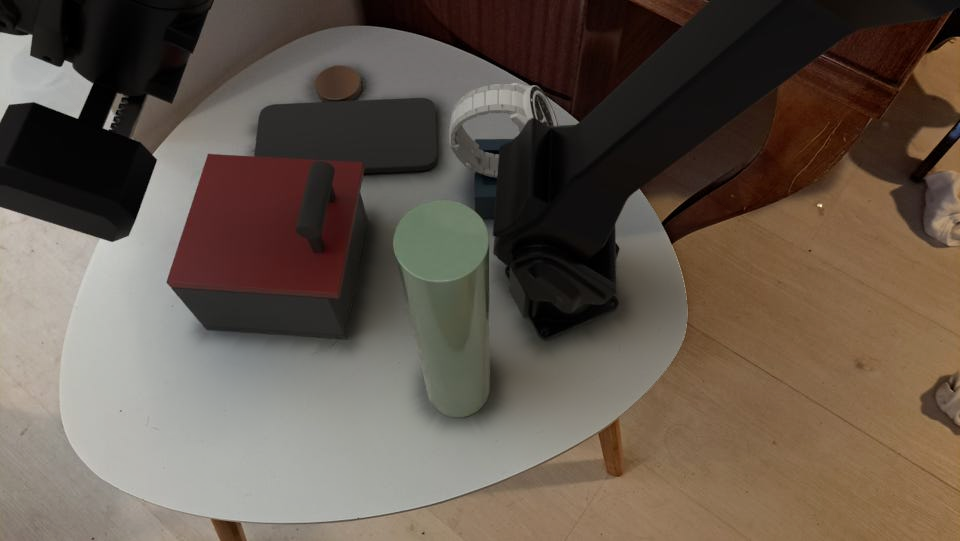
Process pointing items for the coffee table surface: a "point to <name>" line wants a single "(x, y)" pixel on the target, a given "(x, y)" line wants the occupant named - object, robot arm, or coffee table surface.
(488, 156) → the watch
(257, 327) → the lidded storage box
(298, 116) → the phone
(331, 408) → the coffee table surface
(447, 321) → the pale green cylinder
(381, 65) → the coffee table surface
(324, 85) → the brown flat disc
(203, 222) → the storage box lid
